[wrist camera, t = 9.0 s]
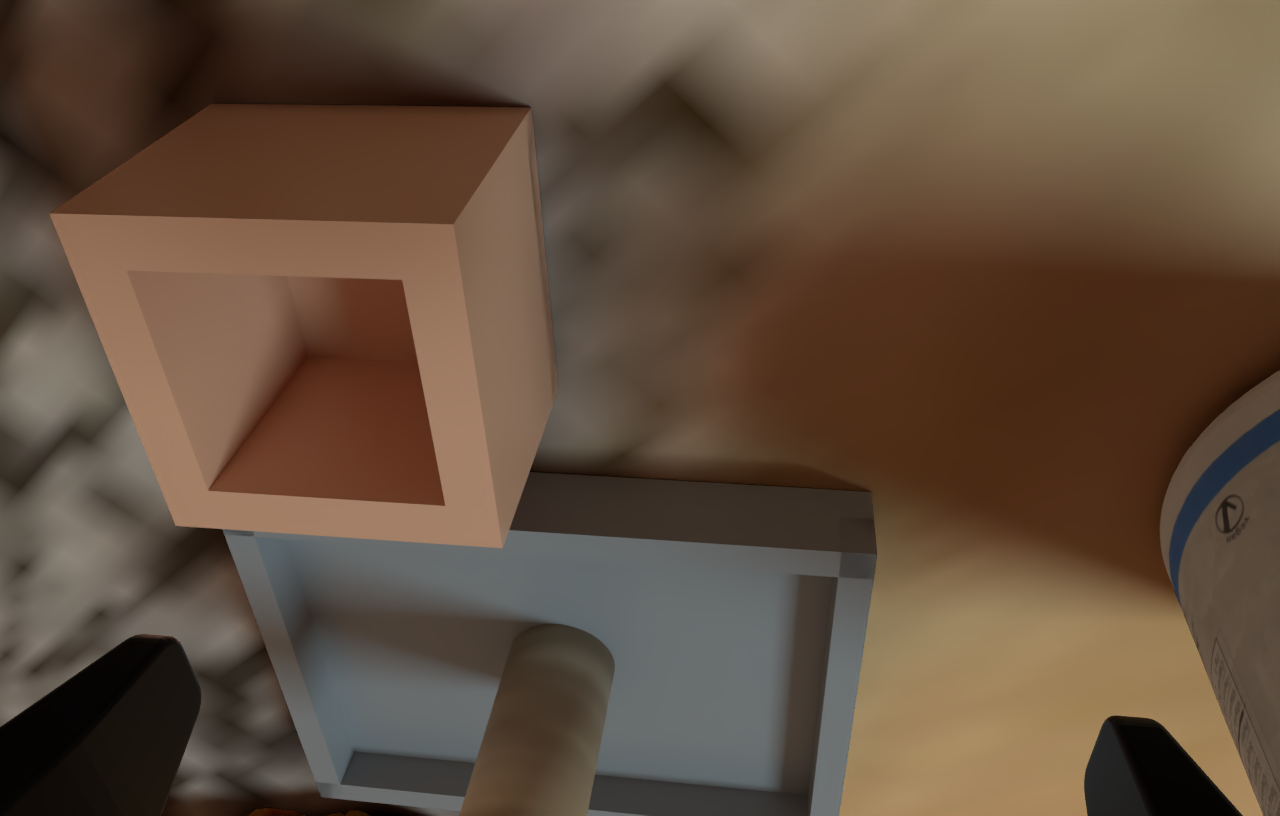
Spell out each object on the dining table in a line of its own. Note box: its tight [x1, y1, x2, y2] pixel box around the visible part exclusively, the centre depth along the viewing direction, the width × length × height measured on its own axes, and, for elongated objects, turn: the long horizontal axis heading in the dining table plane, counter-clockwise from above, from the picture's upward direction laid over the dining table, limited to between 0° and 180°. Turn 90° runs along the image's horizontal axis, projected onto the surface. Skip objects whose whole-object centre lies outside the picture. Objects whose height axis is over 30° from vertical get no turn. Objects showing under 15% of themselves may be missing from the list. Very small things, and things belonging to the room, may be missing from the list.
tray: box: [222, 472, 877, 816], centre depth 28 cm, size 16×12×2 cm
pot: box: [49, 104, 558, 548], centre depth 20 cm, size 7×7×6 cm
